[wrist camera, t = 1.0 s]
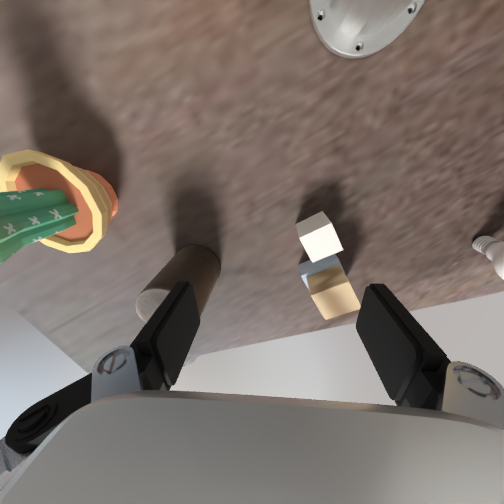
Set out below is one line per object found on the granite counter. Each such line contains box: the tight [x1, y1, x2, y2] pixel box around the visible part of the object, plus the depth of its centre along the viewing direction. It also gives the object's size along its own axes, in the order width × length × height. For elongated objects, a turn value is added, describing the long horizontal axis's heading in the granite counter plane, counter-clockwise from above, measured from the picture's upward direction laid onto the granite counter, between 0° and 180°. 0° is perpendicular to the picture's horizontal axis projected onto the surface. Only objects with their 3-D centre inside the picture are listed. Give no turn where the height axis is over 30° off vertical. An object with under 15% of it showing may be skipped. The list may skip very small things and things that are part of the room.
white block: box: [295, 211, 343, 263], centre depth 32 cm, size 5×5×6 cm
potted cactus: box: [0, 149, 118, 264], centre depth 25 cm, size 15×15×25 cm
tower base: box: [299, 254, 349, 291], centre depth 37 cm, size 7×7×4 cm
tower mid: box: [306, 264, 361, 320], centre depth 33 cm, size 6×6×5 cm
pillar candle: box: [136, 245, 221, 323], centre depth 34 cm, size 10×10×15 cm
